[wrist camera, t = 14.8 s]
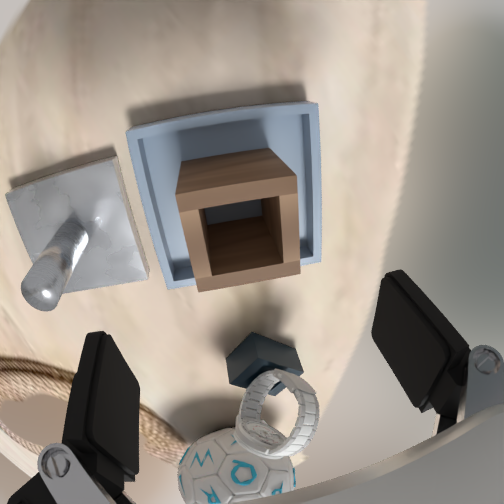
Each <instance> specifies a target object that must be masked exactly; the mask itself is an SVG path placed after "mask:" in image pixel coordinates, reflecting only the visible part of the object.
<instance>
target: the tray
mask: <svg viewBox="0 0 504 504" xmlns="http://www.w3.org/2000/svg"><path fill="white" fill-rule="evenodd" d="M126 137H127V142H128V147H129V151H130V156H131V160H132V164H133V169H134V173H135V177H136V181H137V185H138V189H139V193H140V197H141V201H142V205H143V208H144V212H145V216H146V219H147V223H148V227H149V230H150V234H151V237H152V241H153V244H154V247H155V251H156V254H157V257H158V261H159V264H160V267H161V270H162V273H163V276H164V280H165V283H166V286H167V289H174V288H180V287H186V286H192V285H196V281H195V277H194V273H193V269H192V265H191V261H190V257H189V253H188V249H187V245H186V241H185V237H184V232H183V228H182V224H181V219H180V215H179V211H178V206H177V202H176V197H175V192H176V187H177V181H178V176H179V171H180V166H181V161H186V160H192V159H197V158H203V157H209V156H215V155H221V154H227V153H234V152H240V151H247V150H255V149H262V148H270V149H271V150H272V151H273V152H274V153H275V154H276V155H277V156H278V157H279V158H280V159H281V160H282V161H283V162H284V163H285V164H286V165H287V166H288V167H289V168H290V169H291V170H292V171H293V172H294V173H295V174H296V175H297V186H298V208H299V236H300V266H303V265H308V264H313V263H318V262H321V243H322V194H321V152H320V129H319V110H318V103H314V102H310V101H296V102H283V103H271V104H261V105H252V106H243V107H235V108H228V109H221V110H214V111H208V112H202V113H196V114H190V115H185V116H180V117H175V118H170V119H165V120H160V121H155V122H151V123H147V124H142V125H138V126H134V127H132V128H130V129H129V130H127V131H126ZM204 209H205V215H206V220H207V225H210V224H215V223H221V222H227V221H233V220H239V219H245V218H251V217H257V216H262V208H261V199H256V200H249V201H243V202H237V203H231V204H225V205H219V206H213V207H208V208H204Z"/></svg>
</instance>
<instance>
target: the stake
mask: <svg viewBox="0 0 504 504" xmlns="http://www.w3.org/2000/svg"><path fill="white" fill-rule="evenodd" d="M5 196H6V199H7V202H8V205H9V207H10V210H11V213H12V216H13V218H14V221H15V223H16V226H17V228H18V231H19V233H20V236H21V238H22V240H23V243H24V245H25V247H26V250H27V252H28V254H29V256H30V258H31V261H32V263H33V266H32V267H31V269H30V270H29V272H28V273H27V275H26V276H25V278H24V279H23V281H22V283H21V291H22V294H23V297H24V298H25V300H26V301H27V302H28V303H29V304H30V305H31V306H32V307H34V308H36V309H38V310H41V311H51V310H53V309H54V308H55V307H56V306H57V304H58V302H59V300H60V297H61V295H62V294H64V293H70V292H76V291H82V290H88V289H94V288H100V287H106V286H112V285H118V284H124V283H130V282H136V281H142V280H147V279H148V277H149V272H150V269H149V266H148V263H147V260H146V257H145V254H144V251H143V248H142V244H141V241H140V238H139V235H138V231H137V228H136V225H135V221H134V218H133V214H132V211H131V207H130V204H129V200H128V197H127V193H126V189H125V185H124V181H123V178H122V174H121V170H120V166H119V161H118V157H117V156H113V157H109V158H105V159H102V160H98V161H94V162H91V163H87V164H84V165H81V166H77V167H74V168H71V169H67V170H64V171H61V172H58V173H55V174H52V175H49V176H46V177H43V178H40V179H37V180H34V181H31V182H29V183H26V184H23V185H20V186H18V187H15V188H13V189H11V190H10V191H9V192H7V193H6V194H5Z"/></svg>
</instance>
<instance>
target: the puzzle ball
mask: <svg viewBox="0 0 504 504" xmlns="http://www.w3.org/2000/svg"><path fill="white" fill-rule="evenodd" d="M235 430H236V427H233V428H225V429H222V430H219V431H216V432H213V433H210V434H208V435H206V436H204V437H202V438H199V439H198V440H197V441H196V442H195V443H193V444H192V445H191V446H190V447H189V448H188V449H187V450H186V452H185V454H184V455H183V457H182V459H181V461H180V463H181V464H180V463H179V464H180V466H179V468H178V470H179V471H178V484H179V491H180V493H181V495H182V497H183V499H184V501H185V503H186V504H226V503H233V502H240V501H246V500H251V499H257V498H262V497H267V496H272V495H276V494H281V493H285V492H289V491H293V490H294V487H295V484H296V481H295V469H294V468H293V465H292V462H291V460H290V458H289V456H283V457H282V458H280V459H267V458H263V457H260V456H257V455H255V454H253V453H251V452H249V451H248V450H246V449H245V448H243V447H242V446H241V445H240V444H239V443H238V442H237V441H236V440H235V438H234V435H233V433H234V431H235Z"/></svg>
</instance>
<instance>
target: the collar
mask: <svg viewBox="0 0 504 504" xmlns="http://www.w3.org/2000/svg"><path fill="white" fill-rule="evenodd" d="M175 197H176V202H177V206H178V211H179V215H180V219H181V224H182V228H183V232H184V237H185V241H186V245H187V249H188V253H189V257H190V261H191V265H192V269H193V273H194V277H195V281H196V285H197V288H198V292H203V291H209V290H215V289H221V288H226V287H232V286H238V285H243V284H249V283H254V282H260V281H265V280H270V279H276V278H281V277H286V276H292V275H297V274H300V236H299V208H298V186H297V175H296V174H295V173H294V172H293V171H292V170H291V169H290V168H289V167H288V166H287V165H286V164H285V163H284V162H283V161H282V160H281V159H280V158H279V157H278V156H277V155H276V154H275V153H274V152H273V151H272V150H271V149H270V148H262V149H255V150H247V151H240V152H234V153H227V154H221V155H215V156H209V157H203V158H197V159H192V160H186V161H181V166H180V171H179V176H178V181H177V187H176V192H175ZM256 199H261V208H262V216H257V217H251V218H245V219H239V220H233V221H227V222H221V223H215V224H210V225H207V220H206V215H205V209H204V208H208V207H213V206H219V205H225V204H231V203H237V202H243V201H249V200H256Z"/></svg>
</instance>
